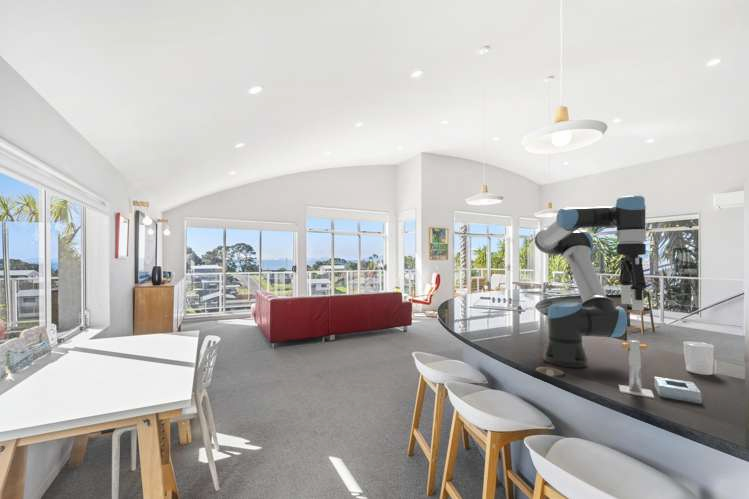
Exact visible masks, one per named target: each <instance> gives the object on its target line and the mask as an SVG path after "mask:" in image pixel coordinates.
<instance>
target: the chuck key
mask: <svg viewBox="0 0 749 499" xmlns="http://www.w3.org/2000/svg"><path fill="white" fill-rule="evenodd" d="M621 348H623V349H627V357H628V358H627V359H628V362H627V363H628V386H629V390H631V391H633V392H642V389H643V388H642V358H641V354H642V353H641V350H646V351H647V350H648V346H647V345H646V344H641V341H639V340H635V339H634V340H633V339H632V340H631V339H628V340H627V342H621Z"/></svg>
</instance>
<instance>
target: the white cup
mask: <svg viewBox="0 0 749 499" xmlns="http://www.w3.org/2000/svg"><path fill="white" fill-rule="evenodd" d="M714 352H715V346H714V345H713V344H710V343H706V342H700V341H688V340H687V341H683V353H684V362H685V369H686V371H687V372H690V373H693V374H696V375H697V374H698V375H702V376H704V375H705V376H710V375H713V372H714V368H713V367H714V358H715V357H714V354H715V353H714Z"/></svg>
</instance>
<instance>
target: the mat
mask: <svg viewBox="0 0 749 499" xmlns="http://www.w3.org/2000/svg"><path fill="white" fill-rule="evenodd" d="M618 388H619V392H620V393H622V394H629V395H632V396H633V395H634V396H639V397H645V398H650V399H655V395H654V393H653V391H652V389H648V388H642V392H633V391H631V390H629V385H623V384H618Z"/></svg>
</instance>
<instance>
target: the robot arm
mask: <svg viewBox="0 0 749 499" xmlns="http://www.w3.org/2000/svg"><path fill="white" fill-rule="evenodd" d="M646 209H647V206H646V201H645V197H644V196H642V195H626V196H621V197H618V198H617V199H616V204H615V206H614V205H613V206H594V207H593V206H591V207H590V206H589V207H588V206H587V207H586V206H585V207H583V206H582V207H570V206H569V207H565V208H559V210H558V212H557V213H556V219H555V221H554V222H553V223H551V224H550V226H548V227H547V228H544V229H541V230H540V231H538V232H537V233H536V235H535V238H534V245H535V246H536V248H537V249H538V250H539V251H541V253H545V254H547V255H558V256H559V255H561V257H562V258H563V260H564V261H566V262H568V265H569V268H570V270H571V274H572V276H573V278H574V281H575V284H576V287H577V290H578V292H579V296H580V298H581V301H582V302H581V303H580V302H579V301H577V302H576V301H565V302H563V301H562V302H556V303H555V302H554V303H552V304H550V305H548V308H547V311H548V312H547V330H548V341H547V344H546V347H545V350H544V352H543V360H544V361H545V362H547V363H548V364H552V365H555V366H559V367H565V368H574V369H575V368H578V369H579V368H586V367H588V366H589V358H588V356H587V353H586V349H585V347H584V346H583V337H597V338H598V337H600V338H601V337H603V338H619V337H622V336H623V335H624V334H625V333H626V330H627V327H628V315H627V312H626V310H625V309H624V308H623V307H621V306H616V304H615V303H614V300H613V299H611V298H610V297H608V296H607V295H606V292H605V290H604V288H603V285H602V283H601V281H600V279H599V275H598V274H597V272H596V270H595V267H594V264H593V261H592V259H591V258H590V256H591V254H592V252H593V250H594V244H595V243H594V240H593V236H592V235H591V234H590V232H588V231H587V230H584V229H593V228H594V229H595V228H596V229H597V228H600V229H601V228H605V229H615V228H616V232H615V233H614V237H616V242H617V244H616V253H617V255H619V256H621V258H620V260H621V265H620V273H619V283H620V285H621V286H620V290H621V291H620V295H621V296H620V297H621V298H620V299H621V300H620V302H621V305H631V310H632V311H640V312H644V308H645V307H644V289H647V285H646V284H647V283H646V279H645V274H644V273H645V272H644V268H643V267H644V266H643V258H642V257H639V255H640V256H644V255H646V254H647V253H646V252H647V250H646V248H647V246H646V244H645V243H644V242H646V241H647V235H646V233H647V232H646V231H647V230H646ZM582 229H583V230H582Z"/></svg>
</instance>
